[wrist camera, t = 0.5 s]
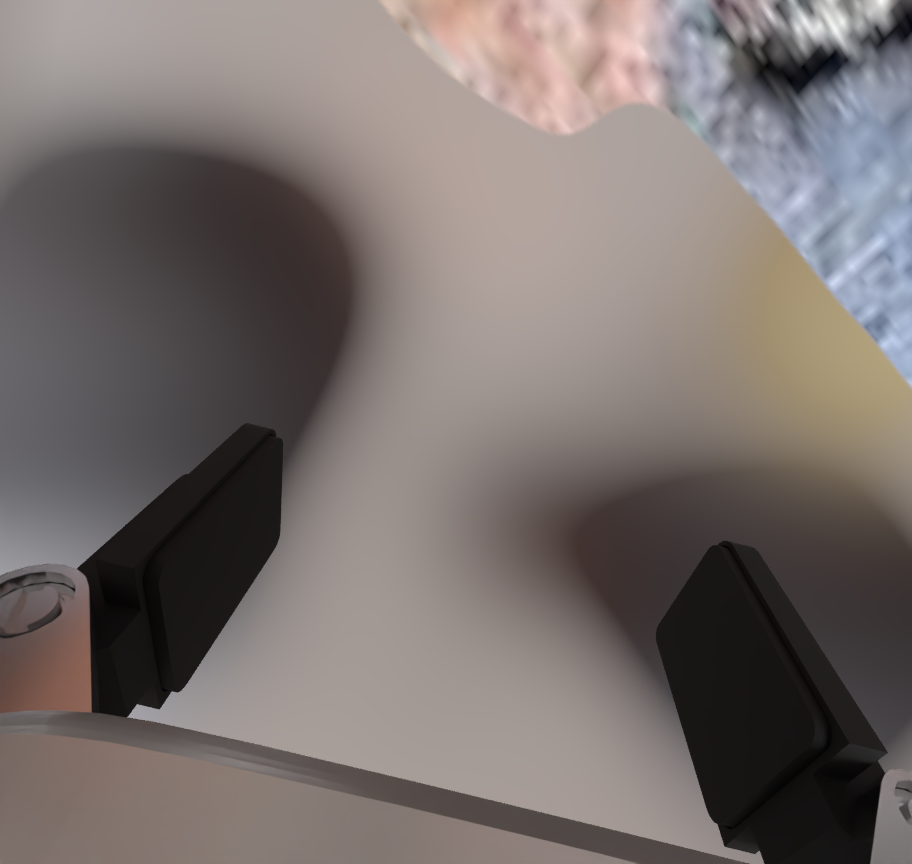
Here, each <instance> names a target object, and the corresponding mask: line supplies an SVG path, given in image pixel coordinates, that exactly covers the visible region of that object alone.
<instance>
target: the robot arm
mask: <svg viewBox="0 0 912 864" xmlns="http://www.w3.org/2000/svg"><path fill="white" fill-rule="evenodd" d="M282 462H283V441H282V439H281V438H278V437H276V433H275V431H274V430H273V429H270V428H265V427H261V426H257V425H253V424H249V423H246V424H244V425H242V426H241V427H240V428H239V429H238V430H237V431H236V432H235V433H233V434H232V436H230V437H229V438H228V439H227V440H226V441H225V442H224V443H222V444H221V445H220V446H219V447H218V448H217V449H216V450H215V451H214V452H212V453H211V454H210V455H209V456H208V457H207V458H206V459H205V460H204V461H202V462H201V463H200V464H199V465H198V466H197V467H196V468H195V469H194V470H193V471H191V472H190V473H189V474H185V475H183V476H182V477H180V478H179V479H177V480H176V481H175V482H174V483H173V484H171V486H169V487H168V488H167V489H166V490H165V491H164V492H163V493H162V494H160V495H159V496H158V497H157V498H156V499H155V500H153V501H152V502H151V503H150V504H149V505H148V506H147V507H146V508H144V509H143V510H142V511H141V512H140V513H139V514H138V515H137V516H135V517H134V518H133V519H132V520H131V521H130V522H129V523H128V524H126V525H125V527H123V528H122V529H121V530H120V531H119V532H117V533H116V534H115V535H114V536H113V537H112V538H111V539H110V540H109V541H107V542H106V543H105V544H104V545H103V546H102V547H101V548H100V549H98V550H97V551H96V552H95V553H94V554H93V555H92V556H91V557H89V558H88V559H87V560H86V561H85V562H84V563H83V564H82V565H80V566H79V567H78V568H77V569H75V568H72V567H69V566H66V565H59V564H42V565H34V566H28V567H24V568H21V569H17V570H14V571H11V572H7V573H5V574H3V575H1V576H0V864H748V863H744V862H740V861H736V860H732V859H728V858H724V857H720V856H716V855H712V854H708V853H704V852H700V851H696V850H692V849H688V848H684V847H680V846H676V845H671V844H668V843H664V842H659V841H656V840H652V839H648V838H644V837H639V836H636V835H632V834H628V833H624V832H620V831H616V830H611V829H607V828H603V827H599V826H595V825H591V824H587V823H583V822H579V821H575V820H571V819H567V818H562V817H558V816H554V815H550V814H545V813H542V812H537V811H533V810H529V809H525V808H521V807H517V806H513V805H509V804H505V803H501V802H496V801H493V800H488V799H484V798H480V797H476V796H472V795H468V794H463V793H459V792H455V791H451V790H447V789H443V788H438V787H435V786H430V785H426V784H422V783H418V782H414V781H409V780H406V779H401V778H397V777H393V776H388V775H384V774H380V773H376V772H371V771H368V770H363V769H359V768H354V767H351V766H346V765H342V764H338V763H334V762H330V761H325V760H321V759H317V758H312V757H308V756H304V755H300V754H296V753H291V752H287V751H283V750H279V749H274V748H270V747H266V746H262V745H258V744H253V743H249V742H244V741H240V740H235V739H230V738H226V737H221V736H216V735H212V734H207V733H202V732H198V731H193V730H189V729H184V728H179V727H175V726H170V725H166V724H161V723H156V722H151V721H145V720H138V719H133V718H126V717H128V716H129V714H130V713H131V711H132V710H133V709H134V707H135V706H136V705H137V704H139V705H143V706H148V707H152V708H156V709H160V708H161V707H162V705H163V704H164V702H165V701H166V699H167V698H168V696H169V695H170V693H171V692H172V691H174V692H179V691H181V690H182V689H183V688H184V687H185V685H186V684H187V683H188V681H189V680H190V678H191V677H192V675H193V674H194V672H195V670H196V669H197V667H198V666H199V664H200V663H201V661H202V660H203V658H204V657H205V655H206V654H207V652H208V651H209V649H210V648H211V646H212V644H213V643H214V641H215V640H216V638H217V637H218V635H219V633H220V632H221V631H222V629H223V628H224V626H225V624H226V623H227V621H228V620H229V618H230V617H231V615H232V614H233V612H234V611H235V609H236V608H237V606H238V605H239V603H240V601H241V600H242V598H243V597H244V595H245V594H246V592H247V591H248V589H249V588H250V586H251V585H252V583H253V582H254V580H255V578H256V577H257V575H258V574H259V572H260V571H261V569H262V568H263V566H264V565H265V563H266V562H267V560H268V558H269V557H270V555H271V554H272V552H273V551H274V549H275V547H276V545H277V543H278V540H279V536H280V524H281V493H282V464H283V463H282ZM656 641H657V645H658V649H659V652H660V655H661V659H662V662H663V665H664V669H665V672H666V675H667V679H668V682H669V685H670V689H671V692H672V695H673V698H674V702H675V705H676V708H677V712H678V715H679V718H680V722H681V725H682V728H683V731H684V735H685V738H686V742H687V745H688V748H689V752H690V755H691V758H692V761H693V765H694V768H695V771H696V775H697V778H698V781H699V785H700V788H701V791H702V795H703V798H704V801H705V805H706V808H707V810H708V813H709V815H710V817H711V819H712V820H713V821H714V822H715V823H717V824H718V827H719V830H720V834H721V837H722V840H723V843H724V846H725V847H728V848H733V849H737V850H741V851H745V852H749V853H753V854H755V853H757V852H758V851H759V850H760V852H761V855H762V858H763V860H764V863H765V864H912V772H910V771H907V770H900V769H893V770H890V771H887V772H884V771H883V769H882V767H881V766H880V764H879V763H878V760H879V759H880V758H881V757H883V756H884V755H885V754H887V753H888V752H887V751H886V749H885V747H884V746H883V744H882V743H881V741H880V740H879V738H878V737H877V735H876V733H875V732H874V730H873V729H872V728H871V726H870V724H869V723H868V721H867V720H866V718H865V717H864V715H863V713H862V712H861V710H860V709H859V707H858V706H857V704H856V702H855V701H854V699H853V698H852V696H851V695H850V693H849V692H848V690H847V689H846V687H845V685H844V684H843V683H842V681H841V679H840V678H839V676H838V675H837V673H836V671H835V670H834V669H833V667H832V665H831V664H830V662H829V661H828V659H827V658H826V656H825V654H824V653H823V651H822V650H821V649H820V647H819V645H818V644H817V642H816V641H815V639H814V637H813V636H812V634H811V633H810V631H809V630H808V628H807V627H806V625H805V624H804V622H803V620H802V619H801V617H800V616H799V614H798V613H797V611H796V610H795V608H794V606H793V605H792V603H791V602H790V600H789V599H788V597H787V596H786V594H785V593H784V591H783V590H782V588H781V586H780V585H779V583H778V582H777V580H776V579H775V577H774V575H773V574H772V572H771V571H770V569H769V568H768V566H767V565H766V563H765V562H764V560H763V559H762V557H761V555H760V554H759V552H758V551H757V550H756V549H755V548H753V547H750V546H746V545H742V544H737V543H733V542H729V541H722V542H721V543H719V544H718V545H713V546H712V547H710V548H709V549H708V551H707V552H706V554H705V555H704V557H703V558H702V560H701V561H700V563H699V564H698V566H697V567H696V569H695V570H694V572H693V573H692V575H691V576H690V578H689V579H688V581H687V582H686V584H685V586H684V587H683V589H682V590H681V592H680V593H679V595H678V596H677V598H676V599H675V601H674V602H673V604H672V605H671V607H670V608H669V610H668V611H667V613H666V614H665V616H664V617H663V619H662V620H661V622H660V623H659V625H658V628H657V632H656Z"/></svg>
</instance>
